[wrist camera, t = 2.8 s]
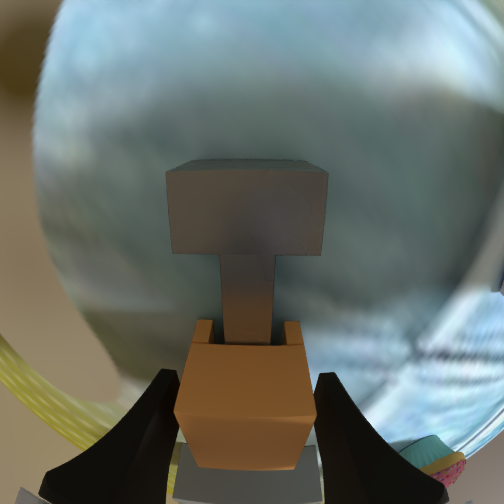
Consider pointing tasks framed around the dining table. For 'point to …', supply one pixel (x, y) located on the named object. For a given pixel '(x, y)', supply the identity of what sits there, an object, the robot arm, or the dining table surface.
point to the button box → (248, 483)
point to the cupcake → (435, 459)
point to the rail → (247, 229)
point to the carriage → (246, 402)
